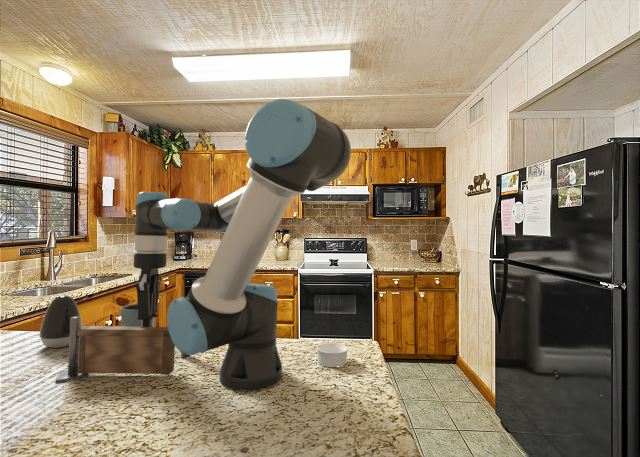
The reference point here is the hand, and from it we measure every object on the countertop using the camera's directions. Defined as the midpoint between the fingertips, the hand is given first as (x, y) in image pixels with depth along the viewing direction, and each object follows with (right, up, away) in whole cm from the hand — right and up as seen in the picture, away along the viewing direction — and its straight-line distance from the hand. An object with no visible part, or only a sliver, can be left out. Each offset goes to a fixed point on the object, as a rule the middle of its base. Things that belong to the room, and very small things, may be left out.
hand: (146, 343), depth 84 cm
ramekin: (+48, -8, +8) cm, 49 cm away
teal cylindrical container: (-13, -7, +19) cm, 23 cm away
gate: (-3, -5, -4) cm, 7 cm away
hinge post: (-15, -6, -5) cm, 17 cm away
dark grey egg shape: (-35, -6, +16) cm, 39 cm away
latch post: (+6, -7, +9) cm, 13 cm away
